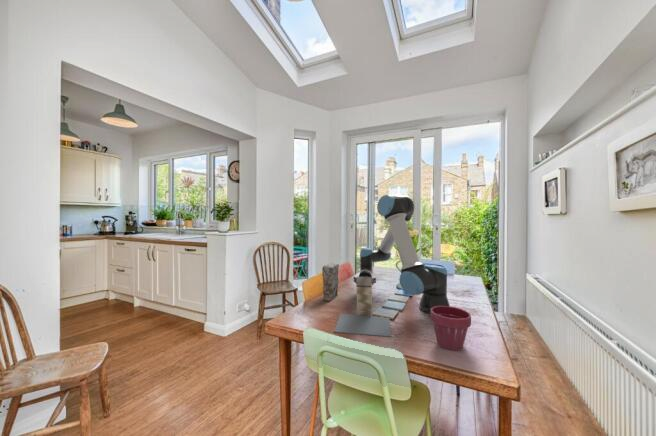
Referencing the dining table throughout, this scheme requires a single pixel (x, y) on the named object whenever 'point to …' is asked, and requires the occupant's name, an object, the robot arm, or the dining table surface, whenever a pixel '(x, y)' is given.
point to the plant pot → (450, 326)
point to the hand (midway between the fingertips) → (363, 287)
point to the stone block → (330, 281)
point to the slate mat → (363, 325)
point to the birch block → (364, 296)
